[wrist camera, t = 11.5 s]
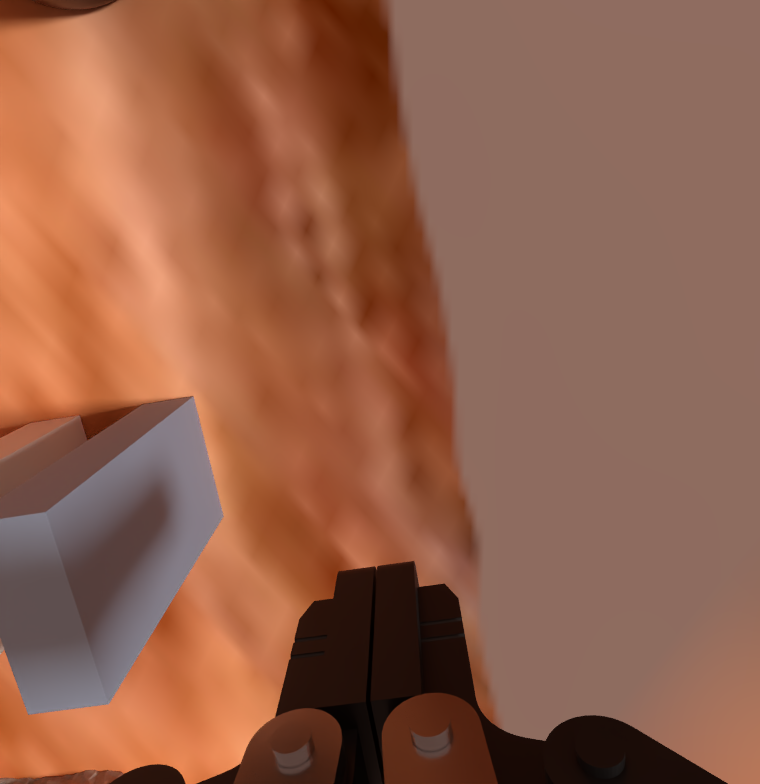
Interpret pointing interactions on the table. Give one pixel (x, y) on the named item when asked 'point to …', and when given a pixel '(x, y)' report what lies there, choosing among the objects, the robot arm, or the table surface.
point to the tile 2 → (36, 451)
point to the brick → (70, 778)
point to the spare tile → (102, 553)
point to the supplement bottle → (73, 3)
